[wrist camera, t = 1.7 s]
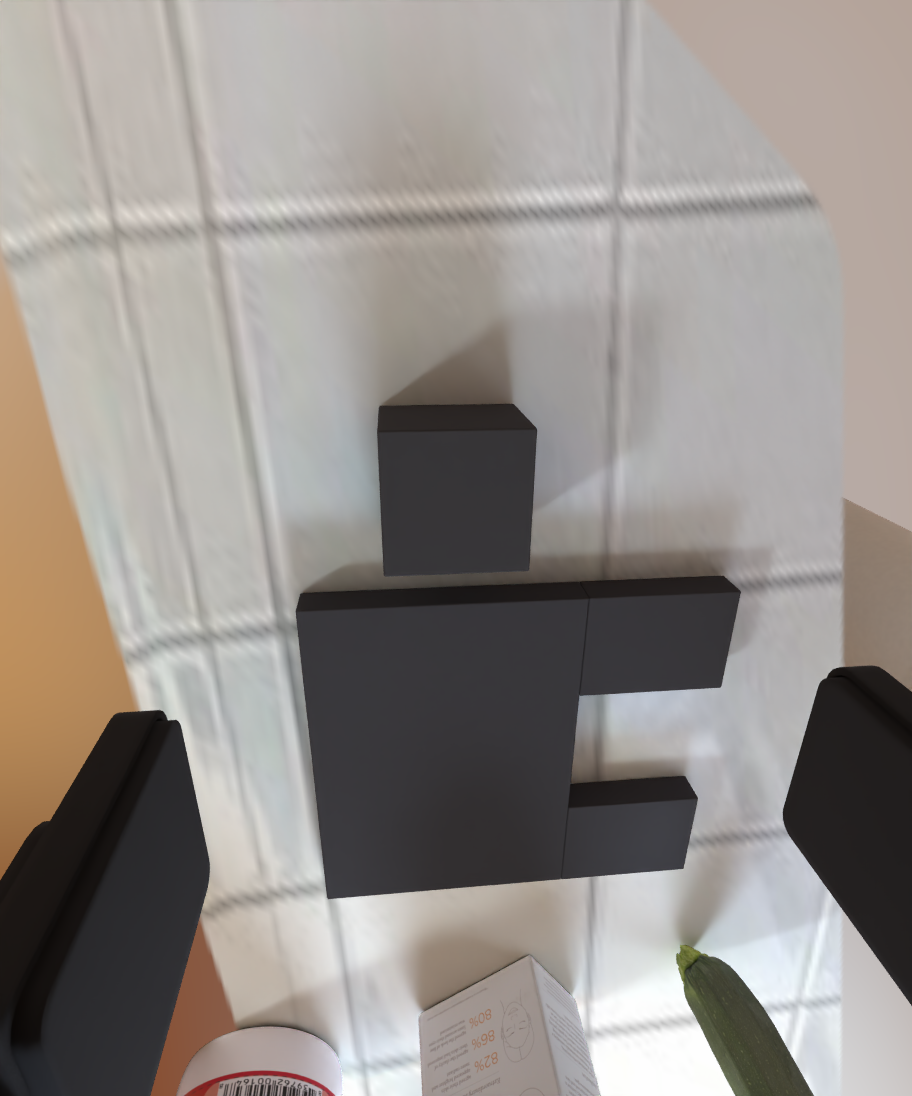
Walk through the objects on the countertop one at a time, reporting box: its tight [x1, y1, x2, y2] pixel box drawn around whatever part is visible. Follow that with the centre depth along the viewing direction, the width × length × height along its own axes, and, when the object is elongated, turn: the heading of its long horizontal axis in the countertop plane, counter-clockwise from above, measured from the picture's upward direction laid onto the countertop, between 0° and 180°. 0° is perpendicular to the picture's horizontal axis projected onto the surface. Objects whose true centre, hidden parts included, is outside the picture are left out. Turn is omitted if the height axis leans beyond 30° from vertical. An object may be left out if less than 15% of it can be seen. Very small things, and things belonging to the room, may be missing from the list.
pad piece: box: [377, 404, 537, 576], centre depth 22 cm, size 5×5×4 cm
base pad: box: [296, 576, 741, 899], centre depth 29 cm, size 18×16×2 cm
